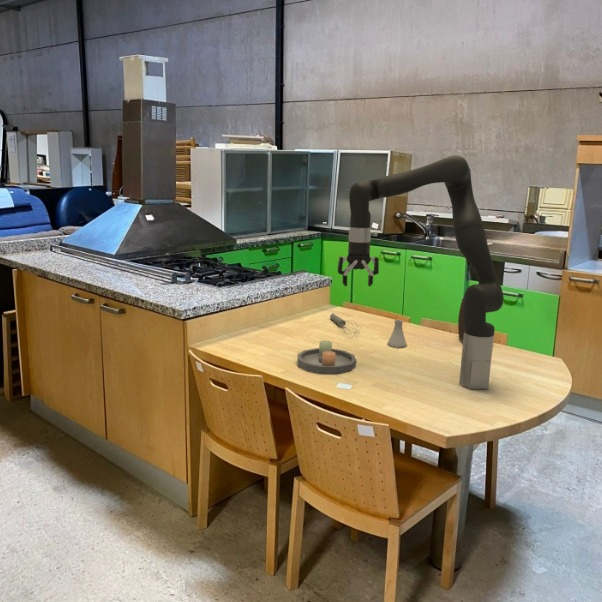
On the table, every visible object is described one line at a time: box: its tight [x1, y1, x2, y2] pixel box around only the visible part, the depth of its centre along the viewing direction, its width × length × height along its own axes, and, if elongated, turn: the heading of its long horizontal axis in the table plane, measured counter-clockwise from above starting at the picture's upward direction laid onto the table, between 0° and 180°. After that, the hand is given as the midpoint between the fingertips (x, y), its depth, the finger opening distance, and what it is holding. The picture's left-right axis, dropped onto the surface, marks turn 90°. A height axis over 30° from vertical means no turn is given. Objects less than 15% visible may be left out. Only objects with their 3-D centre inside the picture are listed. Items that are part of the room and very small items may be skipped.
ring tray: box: [296, 347, 357, 375], centre depth 212 cm, size 20×20×2 cm
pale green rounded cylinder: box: [318, 340, 333, 356], centre depth 217 cm, size 4×4×5 cm
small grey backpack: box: [457, 296, 464, 343], centre depth 240 cm, size 15×8×20 cm, turn 5°
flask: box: [387, 319, 408, 349], centre depth 235 cm, size 7×7×10 cm
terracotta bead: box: [322, 351, 335, 366], centre depth 206 cm, size 4×4×5 cm
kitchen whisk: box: [329, 313, 361, 338], centre depth 257 cm, size 6×34×6 cm, turn 14°
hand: (357, 285), depth 215 cm, fingers open, 8 cm apart
